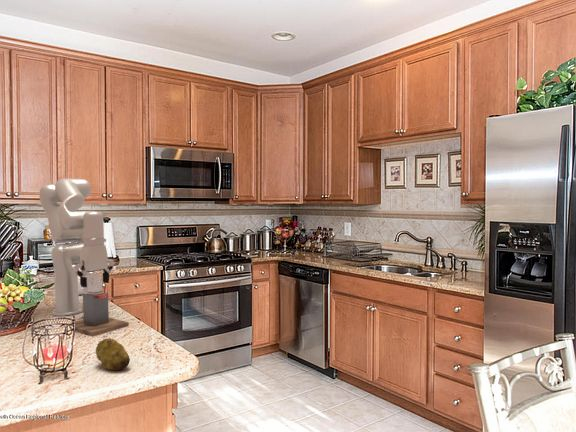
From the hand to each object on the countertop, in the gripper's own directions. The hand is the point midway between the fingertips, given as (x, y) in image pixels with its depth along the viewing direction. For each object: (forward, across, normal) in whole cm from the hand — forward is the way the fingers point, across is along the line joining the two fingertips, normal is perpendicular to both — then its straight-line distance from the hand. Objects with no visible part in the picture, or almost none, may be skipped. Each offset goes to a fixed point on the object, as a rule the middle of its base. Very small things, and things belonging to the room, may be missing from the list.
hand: (95, 284), depth 180 cm
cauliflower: (+18, -31, -67) cm, 76 cm away
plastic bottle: (+18, -8, -16) cm, 25 cm away
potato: (+18, +22, +43) cm, 51 cm away
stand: (+17, 0, 0) cm, 17 cm away
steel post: (+15, 0, 0) cm, 15 cm away
